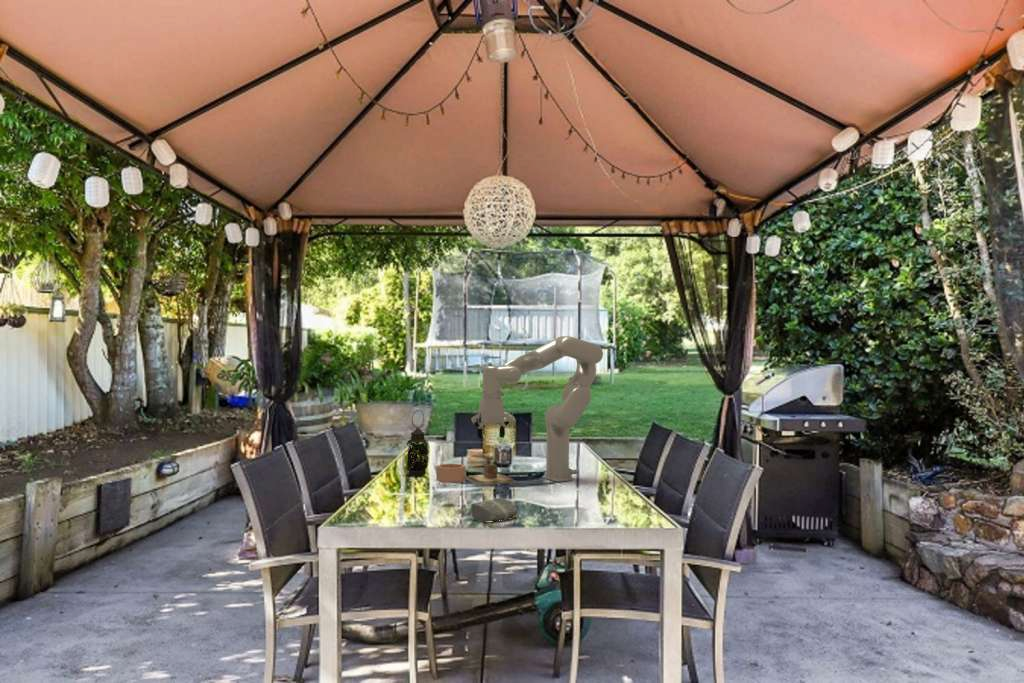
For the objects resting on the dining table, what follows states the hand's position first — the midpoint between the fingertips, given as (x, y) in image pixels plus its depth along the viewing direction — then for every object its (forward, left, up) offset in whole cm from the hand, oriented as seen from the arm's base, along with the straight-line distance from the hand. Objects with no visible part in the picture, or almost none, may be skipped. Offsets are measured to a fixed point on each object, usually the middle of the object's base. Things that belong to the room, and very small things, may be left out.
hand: (490, 437), depth 297 cm
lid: (0, 0, -17) cm, 17 cm away
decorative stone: (+23, +58, -19) cm, 65 cm away
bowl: (+15, -6, -18) cm, 24 cm away
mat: (0, 0, -18) cm, 18 cm away
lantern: (+23, -26, -18) cm, 39 cm away
